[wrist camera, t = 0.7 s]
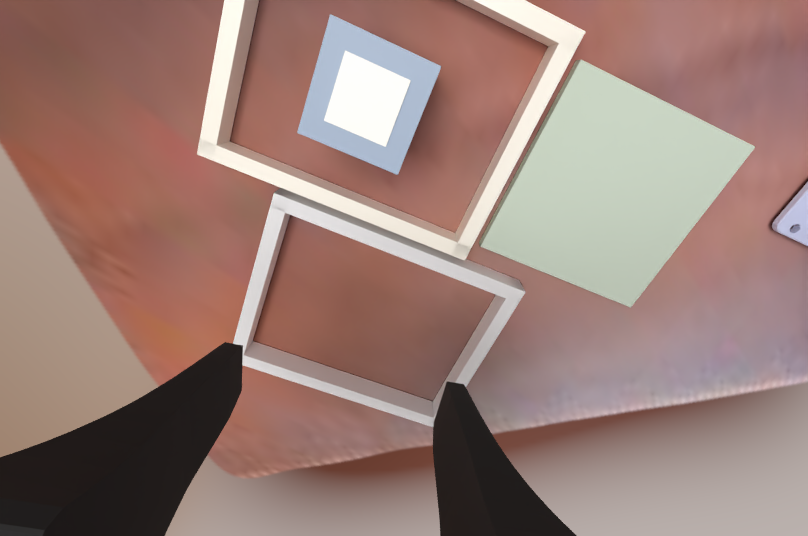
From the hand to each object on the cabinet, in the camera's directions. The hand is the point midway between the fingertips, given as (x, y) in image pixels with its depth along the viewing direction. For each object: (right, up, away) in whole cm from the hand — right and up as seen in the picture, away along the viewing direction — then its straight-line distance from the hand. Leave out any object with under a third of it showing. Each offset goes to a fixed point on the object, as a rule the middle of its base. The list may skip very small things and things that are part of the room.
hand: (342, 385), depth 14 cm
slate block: (+1, +13, +6) cm, 14 cm away
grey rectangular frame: (0, +1, +11) cm, 11 cm away
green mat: (+13, +8, +7) cm, 17 cm away
